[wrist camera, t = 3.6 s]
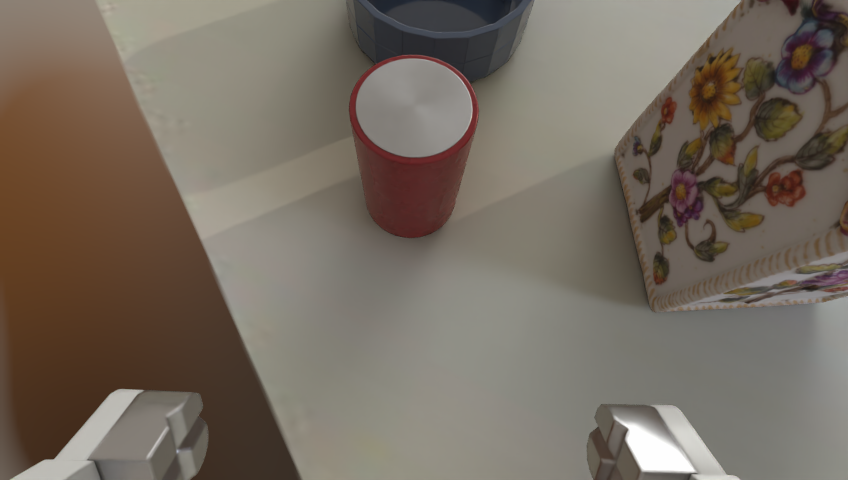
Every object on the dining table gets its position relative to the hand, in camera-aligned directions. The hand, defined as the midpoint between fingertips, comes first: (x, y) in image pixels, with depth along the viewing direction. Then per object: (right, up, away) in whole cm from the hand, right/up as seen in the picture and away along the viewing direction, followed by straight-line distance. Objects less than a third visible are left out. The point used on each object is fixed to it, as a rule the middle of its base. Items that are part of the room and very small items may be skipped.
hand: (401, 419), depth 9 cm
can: (0, +7, +19) cm, 21 cm away
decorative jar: (+19, +5, +20) cm, 28 cm away
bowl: (+1, +20, +24) cm, 32 cm away
